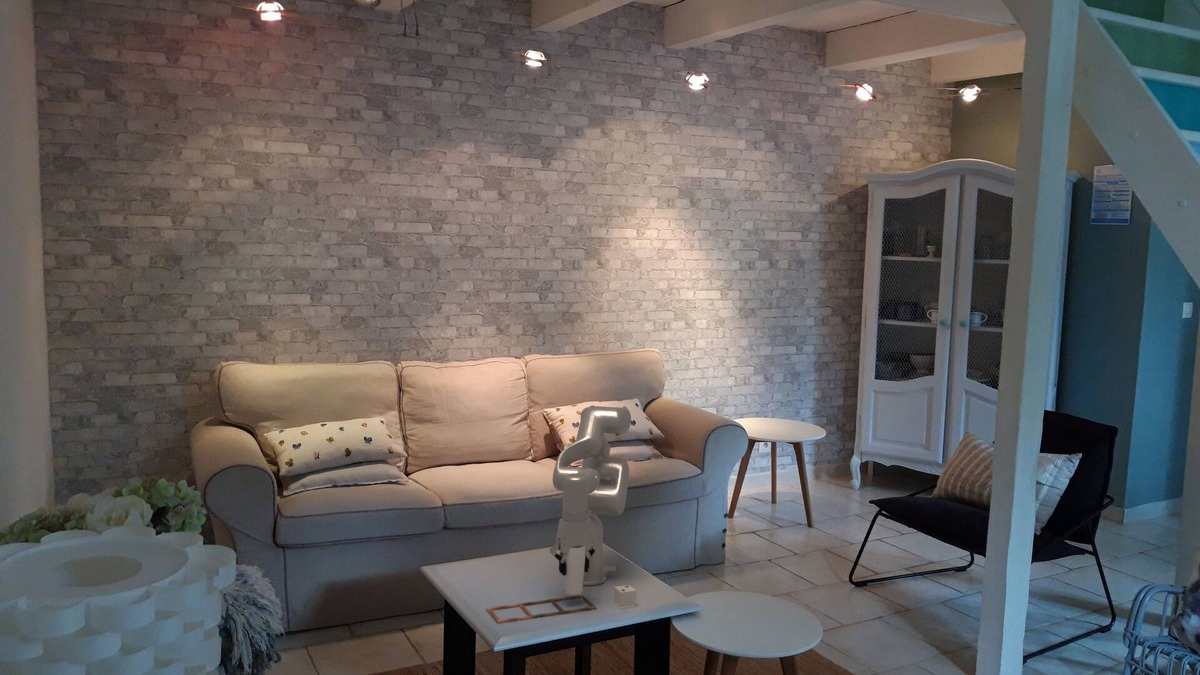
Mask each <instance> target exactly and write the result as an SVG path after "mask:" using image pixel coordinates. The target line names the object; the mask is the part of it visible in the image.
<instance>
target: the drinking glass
mask: <svg viewBox="0 0 1200 675" xmlns="http://www.w3.org/2000/svg"><path fill="white" fill-rule="evenodd" d="M585 556H586V551H585V546H583V547H581V548H570V550H569V553H568V554H567V557H566V559H565V563H566V575H565V576H564V591H565V593H566V594H567V595H570V596H577V595H582V593H583V591H584V590H583V589H584V585H583V577H584V568H585Z"/></svg>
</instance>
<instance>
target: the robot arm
mask: <svg viewBox="0 0 1200 675" xmlns="http://www.w3.org/2000/svg"><path fill="white" fill-rule="evenodd" d="M631 424H632V414H631V412H630V410H629V409H628V408H627V407H618V406H600V405H599V406H598V405H597V406H594V405H593V406H587V407H584V408H583V409H582V411H581V412H580V422H579V426H578V430H577V435H576V439H575V441H573V442H572V443H570V444H569V445H567V447H565V448H564V449H562V451H561V452H560V453H559V454H558V456H557V459H556V461H555V465H554V469H553V472H552V473H553V474H552V484H553V487H554V488H555V490H558V491H561V492H562V518H560V519H559V522H558V524H557V526H558V527H557V532H556V540H555V541H556V542H555V543H554V545H552V546H551V548H550V549H549V553H550V554H551V555H552V556H553V557H554V558H555V559H556V560H557V561H558V572H559V573H560V574H561V575H562V576H563V577H565V575H566V563H565V559H566V557H567V554H568V553H569V550H570V548H581V547H583V546H585V551H586V556H585V568H584V577H583V586H586V587H587V586H598V585H601V584H603V583H605V582H606V581H607V580H608V578H607V574H608V573H615V572H616V570H617V567H616V566H615V565H611V566H610V565H609V564H603V547H604V545H603V543H604V541H603V540H604V526H603V523H602V522H601V520H600V518H599V517H598V515H601V516H602V515H604V516H620V515H622V513H624V510H625V507H626V501H627V494H628V488H629V481H630V480H629V479H630V467H629V464H628V461H627V460H625V459H624V458H621V457H610V452H611V445H610V444H609V442H608V440H607V439H606V438H605V434H607V435H609V434H612V435H624V434H625V433H628V431H629V429H630V428H631ZM579 461H582V463H581V464H582V465H581V467H578V466H577V467H576V466H570V465H571V464H574V463H575V462H579ZM557 551H559V553H558V552H557Z"/></svg>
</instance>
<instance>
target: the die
mask: <svg viewBox="0 0 1200 675" xmlns="http://www.w3.org/2000/svg"><path fill="white" fill-rule="evenodd" d="M614 602H615V603H616V604H617V605H618V606H620V607H625V606H626V607H627V606H632V605H636V606H637V603H636V602H637V590H636V589H635V588H634V587H632V586H631V585H630V584H627V585H620V586H614V587H613V603H614ZM615 603H614V604H615ZM616 604H615V605H616ZM617 605H616V606H617ZM618 606H617V607H618ZM620 607H619V608H620ZM627 608H628V607H627Z"/></svg>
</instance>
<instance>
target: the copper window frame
mask: <svg viewBox="0 0 1200 675" xmlns="http://www.w3.org/2000/svg"><path fill="white" fill-rule="evenodd" d="M577 598H578V599H581V598H582V599H583V600H584V601H583V600H582V599H581V600H582V601H583V602H584V603H585V604H587V606H586V607H581V608H572V609H566V610H565V609H564V608H563V607H562V606H560V605H559V603H558V602H561V601H569V600H577ZM549 603H551V604H552V605H553V607H555V608H556V610H558V611H552V612H545V613H539V614H533V613H531V611H530V610H529V609H528V608H527V607H528V606H533V605H542V604H549ZM526 606H527V607H526ZM590 606H591V607H590ZM514 608H520V609H521V610H522V611H523V612H524V613H525V614H526V615H525V616H524V615H523V616H518V617H511V618H510V617H509V618H504V619H500V618H499V617H498V616H497V614H496V613H495V612H494V611H498V610H505V609H514ZM592 609H594V610H597V609H598V607H597V606H596V605H595V604H594V603H593V602H592V601H590V600H589V598H587V597H586V596H585V595H583V594H579V595H570V596H563V597H558V598H557V597H556V598H550V599H549V598H548V599H544V600H543V599H542V600H535V601H527V602H520V603H514V604H506V605H499V606H491V607H486V609H485V611H486V612H487V613H488V614H489V615H490V616H491V618H492V619H493V618H494V619H493V620H494V621H495V622H496V623H497V624H498V623H499V624H504V622H506V623H511V622H512V621H513V622H519V621H518V620H520V621H525V620H524V619H527V620H532V618H533V619H538V617H540V618H546V616H547V617H552V616H558V615H566V614H567V615H568V614H572V613H578V612H580V611H581V612H586V610H587V611H593V610H592ZM492 610H493V611H492Z"/></svg>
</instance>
